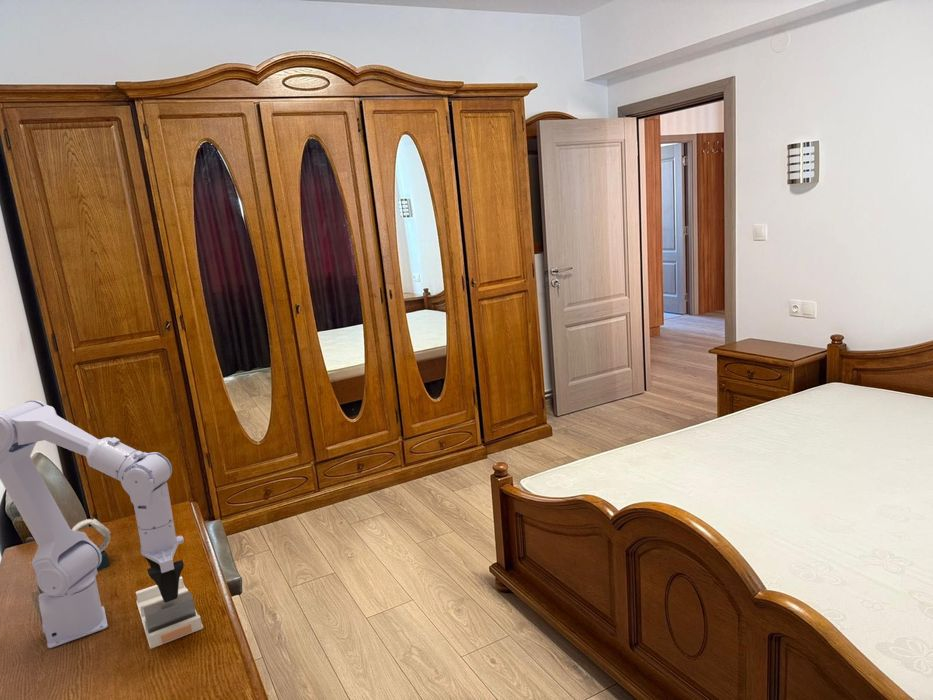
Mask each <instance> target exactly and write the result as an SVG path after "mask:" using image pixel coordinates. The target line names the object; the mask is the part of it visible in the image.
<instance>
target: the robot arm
mask: <svg viewBox="0 0 933 700" xmlns="http://www.w3.org/2000/svg"><path fill="white" fill-rule="evenodd" d="M42 441H46V442H49V443H51V444H54V445H55V446H59V447H62V448H64V449H67V450H68V451H70V452H74V453H76V454H79V455H80V456H84V457H85V459H86V461H87V465H88V466H89V467H90V468H92V469H94V470H97V471H99V472H101V473H102V474H105V475H106V476H107V475H108V476H109V477H111V478H113V479H115V480H116V481H117V480H118V481H119V482H120V484H121V486H122V488H123V490H124V491H125V492H126V493H127V494H128V496H129V497H130V503H132V505H133V507H134V509H133V510H134V513H135V518H136V524H137V525H136V526H137V531H138V536H139V541H140V543H139V544H140V549H139V551H140V554H141V555H142V556H143V557H144V559H145V560H146V561H147V562H148V564H149V566H150V567H149V568H147V569H146V570H147V573H148V575H149V577H150V578H151V580H153V582H155V585H157V586H158V588H159V590H160V593H161V596H162V598H163V600H164V602H165V603H166V602H169V601H172V600H174V599H177V597H178V586H179V578H180V577H181V574H182V571H183V569H184V561H183V560H182V559H180V560H177V561H175V562H174V557H175V554H176V551H177V549H178V546H179V545H181V544H183V543H184V542H185V540H184V537H183V535H178V536H177V534H176V529H175V523H174V517H173V516H174V515H173V510H172V503H171V498H170V490H169V485H168V482H167V481H168V480H169V479H170V478H171V477H172V473H173V466H172V463H171V462H170V460H169V459H168V458H167V457H166V456H165V455H163V454H162V453H160V452H156V451H155V452H154V451H153V452H146V451H144V452H143V451H141V450H138V449H135V448H133V447H131V446H129V445H127V444H124V443H122V442H121V440H120V439H119V438H117V437H115V436H113V437H109V436H108V437H103V438H100V439H99V438H97V437H96V436H94V435H92V434H91V433H88V431H87V432H86V431H85V430H83V429H82V428H80V427H78V426H76V425H74V424H73V423H71V422H70V421H68V420H66V419H64V418H62V417H61V416H59V415H58V414H57V411H56V409H55V408H54V406H52V405H48V404H46V403H45V402H43V401H41V400H39V399H29V400H27V401H25V402H23V403H21V404H18V405H15V406H13V407H11V408H6V409H4V410H3V411H0V481H1V483H2V485H3V487H4V488H5V490H6V491H7V494H8V496H9V497H10V499H11V500H12V502H13V504H14V506H15V507H16V509H17V511H18V512H19V515H20V516H21V518H22V520H23V521H24V523H25V525H26V528H28V530H29V532H30V533H31V536H32V537H33V539H34V541H35V542H36V545H37V546H38V547H37V550H36V551H35V555H34V557H33V558H32V561H31V566H32V568H33V570H34V573H35V580H36V584H37V586H38V588H39V589H40V590H41V591H42V593H40V594H39V595H38V605H39V611H40V616H41V620H42V623H41V625H42V631H43V634H45V638H46V643H47V648H48V649H52V648H56V647H58V646H60V645H64V644H66V643H69V642H71V641H74V640H77V639H81V638H83V637H85V636H88V635H91V634H94V633H96V632H100V631H103V630H105V629H107V628H108V627H109V624H108V620H107V616H106V610H105V606H103V605H102V603H101V599H100V598H101V597H100V592H99V589H98V588H99V587H98V584H97V578H96V576H97V575H98V573H99V571H97V567H98V566H99V565H100V563H101V561H102V555H101V552H100V550H99V548H98V545H96V544H95V543H94V542H93V541H92V540H91V539H90V538H89V537H88V535H87V533H86V532H84V531H79V530H78V531H73V530H71V527H70V526H69V523H68V522H67V520H66V518H65V517H64V515H63V513H62V511H61V509H60V508H59V506H58V504H57V502H56V500H55V499H54V497H53V495H52V493H51V492H50V490H49V488H48V486H47V484H46V483H45V480H44V479H43V478H42V476H41V474H40V471H39V470H38V468H37V467H36V465H35V463H34V460H33V459H32V457H31V456H32V453H33V451H34V448H35V446H36V444H37V443H39V442H42Z"/></svg>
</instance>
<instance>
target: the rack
mask: <svg viewBox="0 0 933 700" xmlns="http://www.w3.org/2000/svg"><path fill="white" fill-rule="evenodd" d="M186 592H189V589H188V588H187V587H186V586H185V584H184V578H183V576H182V575H180V578H179V586H178V595H180V594H183V593H186ZM135 594H136V605H137V609H138V612H139V616H140V619H141V623H142V626H143V630H144V632H145V633H144V634H145V636H146V640H147V642H148V646H149V650H152V649H154V648H157V647H159V646H161V645H165V644H167V643H169V642H172V641H175V640H177V639H180V638H183V637H184V636H188V635H189V634H192V633H194V632H195V633H196V632H199V631H200V630H202V629H204V625H203V623H202V619H201V618H202V617H201V615H200V614H198V612H197V610H196V609H195V613H196V616H194V617H192V618H189V619H187V620H184V621H181V622H179V623H176V624H173V625H171V626H168V627H165V628H163V629H160V630H157V631H155V632H152V633H150V634H149V635H148V631H147V626H146V620H145V615H144V609H143V608H144V607H147V606H150V605H152V604H155V603H158V602H161V601H164V600H163V598H162V596H161V593H160V590H159V588H158V586H157V584H155V585H152V586H149V587H146V588H142V589H140V590H137V591H135Z"/></svg>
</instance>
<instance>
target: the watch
mask: <svg viewBox="0 0 933 700" xmlns="http://www.w3.org/2000/svg"><path fill="white" fill-rule="evenodd" d="M87 525H90V526H91V527H93V529H95V530H96V531H97V532H98V533H99V534H100V535H101V536H103V537H104V538H103V539H104V540H103V541H102V543H101V544H100V545H97V547H98V548H99V550H100V552H101V555H102V561H101V563H100V565H99V566H98V567H97V572H99V571H101V570H104V569H106V568H109V567H110V566H111V565H110V561H109V556H108V553H107V552H106V551H105V549H106V548H107V547H108V545H109V543H110V541H111V534H112V532H111V531H110V530H109V528H108V527H106V526H105V525H104V524H103V523H101V522H100V521H99V520H98V519H96V518H92V519H91V518H88V519H87V518H86V519H83V520H82V521H79V522H76V524H75V525H74V526H73V527H71V528H72V529H71V528H70V529H71V530H73V531H79V530H80V529H81V528H83V527H85V526H87Z"/></svg>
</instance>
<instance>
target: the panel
mask: <svg viewBox="0 0 933 700" xmlns="http://www.w3.org/2000/svg"><path fill="white" fill-rule="evenodd" d="M194 600H195V599H194V597H193V595H192V593H191V591H189V590H188V592H186V593H183V594H180V595H178V597H177V599H174V600H172V601H169V602H166V603H165V602H164V601H161V602H158V603H155V604H152V605H150V606H147V607H144V608H143V609H144V615H145V620H146V626H147V631H148V635H149V634H150V633H152V632H155V631H157V630H160V629H163V628H165V627H168V626H171V625H173V624H176V623H179V622H181V621H184V620H187V619H189V618H192V617H194V616H196V613H195V610H196V608H195V607H196V606H195V601H194Z"/></svg>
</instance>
